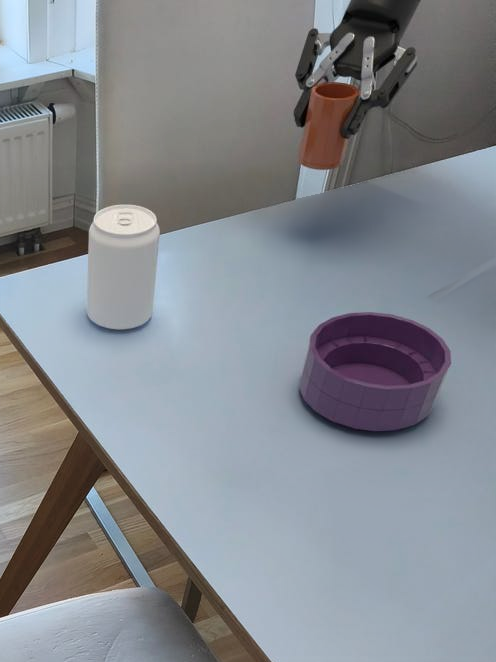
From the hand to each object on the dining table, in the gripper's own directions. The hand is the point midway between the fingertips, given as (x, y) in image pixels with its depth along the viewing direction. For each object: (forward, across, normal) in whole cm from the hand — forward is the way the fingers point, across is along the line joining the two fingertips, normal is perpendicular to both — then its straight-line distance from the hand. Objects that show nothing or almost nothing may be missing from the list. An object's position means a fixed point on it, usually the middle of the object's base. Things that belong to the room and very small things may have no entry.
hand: (321, 129), depth 108 cm
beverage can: (+31, -9, -11) cm, 34 cm away
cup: (+2, 0, +4) cm, 5 cm away
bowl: (+29, +22, -9) cm, 38 cm away
